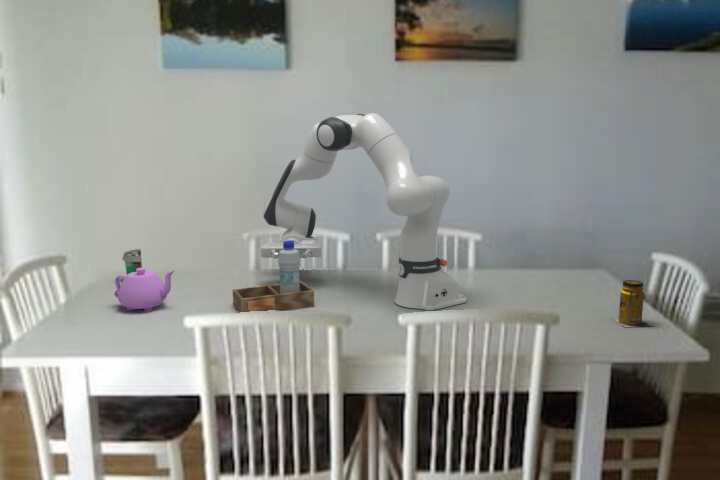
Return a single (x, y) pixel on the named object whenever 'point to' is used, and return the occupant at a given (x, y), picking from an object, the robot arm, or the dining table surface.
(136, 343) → the dining table surface
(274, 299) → the crate
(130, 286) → the teapot
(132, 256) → the food container
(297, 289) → the bottle
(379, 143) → the robot arm
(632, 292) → the condiment
